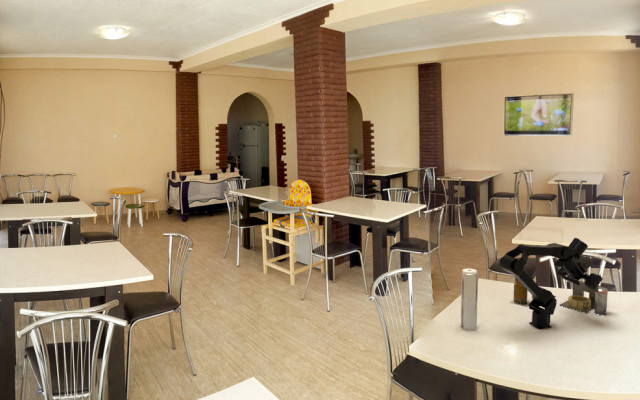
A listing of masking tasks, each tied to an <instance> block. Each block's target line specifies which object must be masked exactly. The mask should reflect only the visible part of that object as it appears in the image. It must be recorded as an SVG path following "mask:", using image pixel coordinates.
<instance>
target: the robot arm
mask: <svg viewBox="0 0 640 400" xmlns="http://www.w3.org/2000/svg"><path fill="white" fill-rule="evenodd" d="M588 248H589V245H588V244H587V243H585V242H584V241H582V240H581V239H580V238H577V237H574V238H573V239H572V240H571V242H570V243H569V245H564V244H562V243H561V244H560V243H557V242H552V243H551V242H550V243H548V244H546V245H540V244H539V245H537V244H536V245H535V244H524V243H520V244H518V245H517V246H516V247H515V248H512V249H511V250H509V251H507V252H506V253H505V254H504V255H503V256H501V258H500V260H499V264H498V265H499V267H500V269H502V270H504V271H505V272H507V273H508V274H510V275H512V276H513V277H514V279H515V278H516V279H517V280H518V281H519V282H520V283H521V284H522V285H523V286H524V287H525V288H526V289H527V290H528V291H527V292H529V293H530V295H531V301H530V303H529V305H528V306H527V307H528V309H529V310H531V313H532V314H531V321H530V322H529V323H528V324H529V325H530V326H533V327H535V328H536V329H538V330H544V329H552V328H553V325H551V316H552V315H554V314H555V310H556V306H557V303H558V301H557V299H556V298H557V296H556V295H554V294H553V292H552V291H550V290H548V289H546V288H543V287H541V286H539V284H538V283H537V282H536V281H535V280H534V279H533V278H532V277H531V276H530V275H529V274H528V273H527V272H526V270H525V265H527V262H528V259H529V257H531V256H539V257H540V256H542V257H544V256H546V257H547V256H548V257H554V258H557V259H556V260H555V262H554V266H555V267H559V269H558V270H557V272H556V274H557V276H558V278H561V279H563V280H564V281H568V282H570V283H571V284H573V283H574V284H576V285H580V283H579V281H580V280H581V279H582V280H584V282H585V285H586V286H587V288H590V289H591V290H593V291H596V292H598V285H599V286H600V283H602V280H603V277H602V276H601V274H599V273H598V274H597V273H595V272H591V273H589V274H587V272H588V269H589V268H590V267H592V266H594V264H593V263H594V262H593V260H592V258H591V257H588V256H585V255H583V254H584V253H585V252H586V250H587V249H588ZM518 256H521V257H520V258H519V259H518V258H517V257H518Z"/></svg>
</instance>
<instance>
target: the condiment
mask: <svg viewBox="0 0 640 400" xmlns="http://www.w3.org/2000/svg"><path fill="white" fill-rule="evenodd" d="M514 279H515V280H514V284H513V299H512V300H510V301H509V303H513V304H516V305H520V306H525V307H529V306H528V305H529V303H530V302H531V301H529V300H528V292H529V291H528V290H527V289H526V288H525V287H524V286H523V285H522V284H521V283H520V282H519V281H518V280H517V279H516V278H515V277H514Z"/></svg>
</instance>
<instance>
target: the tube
mask: <svg viewBox="0 0 640 400" xmlns="http://www.w3.org/2000/svg"><path fill="white" fill-rule="evenodd" d="M608 292H609V290H608V288H606V287H603V286H602V287H598V292H596V291H595V307H594V310H593V313H594V314H595V313H596V314H595V315H597V314H599V315H598V316H601V315H604V316H606V315H607V309H608V308H607V307H608Z"/></svg>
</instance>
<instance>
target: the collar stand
mask: <svg viewBox="0 0 640 400" xmlns="http://www.w3.org/2000/svg"><path fill="white" fill-rule="evenodd" d="M579 283H580V285H576V284H574V283H572V293H571V294H572V295H569V296H568V299H567V300H566V301H564V302H562V303H560V304H559V306H560V307H562V306H563V307H562V308H566V307H567V309H569V308H571V309H570V310H573V309H574V310H573V311H576V310H577V312H580V311H581V312H580V313H583V312H585V313H584V314H588V313H590V312H591V310H592V311H594V310H593V309H594V307H595V291H593V290H591V289H590V288H587V286H586V285H585V281H581V280H579ZM598 287H603V286H602V285H600V284H599V285H598ZM585 292H586V293H588V297H587V296H585ZM589 311H590V312H589ZM587 312H588V313H587Z"/></svg>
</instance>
